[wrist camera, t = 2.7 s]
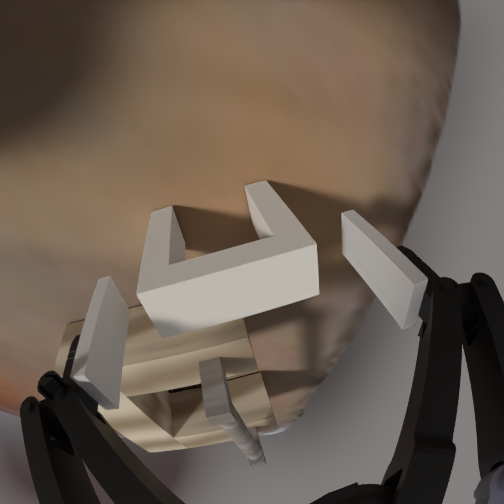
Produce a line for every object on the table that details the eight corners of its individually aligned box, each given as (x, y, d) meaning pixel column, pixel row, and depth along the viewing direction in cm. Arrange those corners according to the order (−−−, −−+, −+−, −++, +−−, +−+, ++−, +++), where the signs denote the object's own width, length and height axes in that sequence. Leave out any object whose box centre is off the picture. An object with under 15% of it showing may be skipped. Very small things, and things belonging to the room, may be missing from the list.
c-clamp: (66, 324, 22) (43, 423, 13) (232, 281, 23) (264, 394, 15) (147, 412, 32) (152, 483, 23) (265, 387, 33) (288, 461, 25)
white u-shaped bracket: (151, 212, 19) (136, 294, 12) (265, 180, 19) (316, 243, 12) (165, 248, 20) (162, 338, 13) (272, 218, 21) (319, 294, 14)
